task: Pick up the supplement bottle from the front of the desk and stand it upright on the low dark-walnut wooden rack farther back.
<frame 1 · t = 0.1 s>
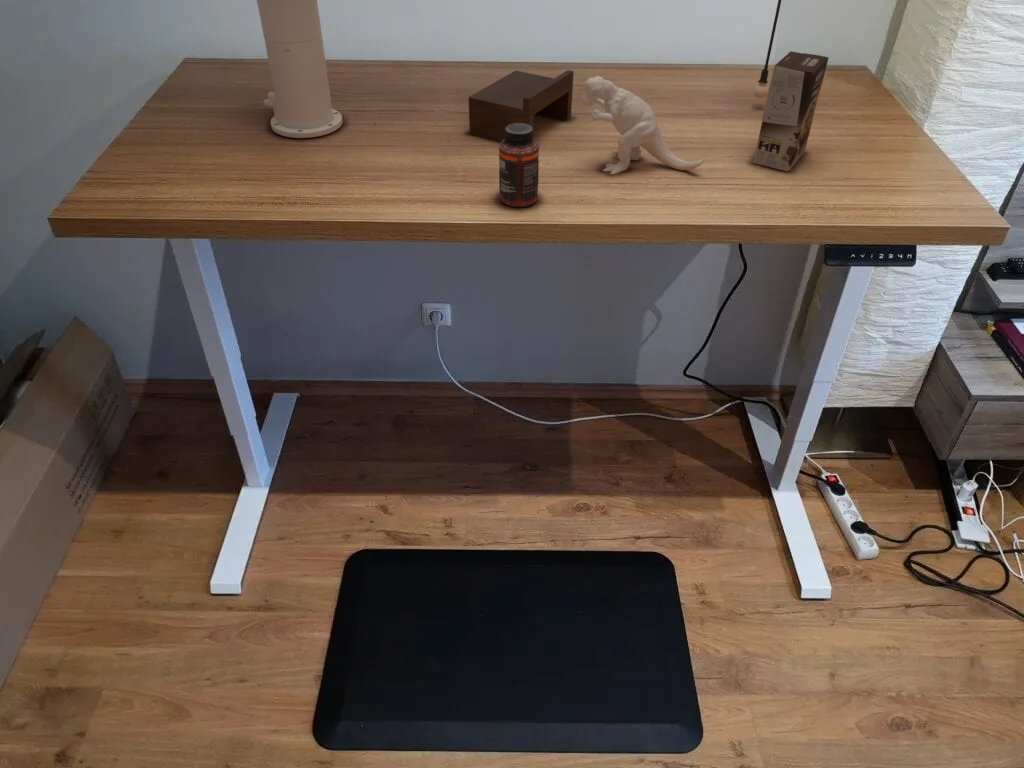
rack: (521, 126, 145), on the table
light fixture: (757, 109, 153), on the table
coffee box: (778, 159, 136), on the table
supplement bottle: (518, 200, 123), on the table
dinosaur figurine: (639, 166, 133), on the table
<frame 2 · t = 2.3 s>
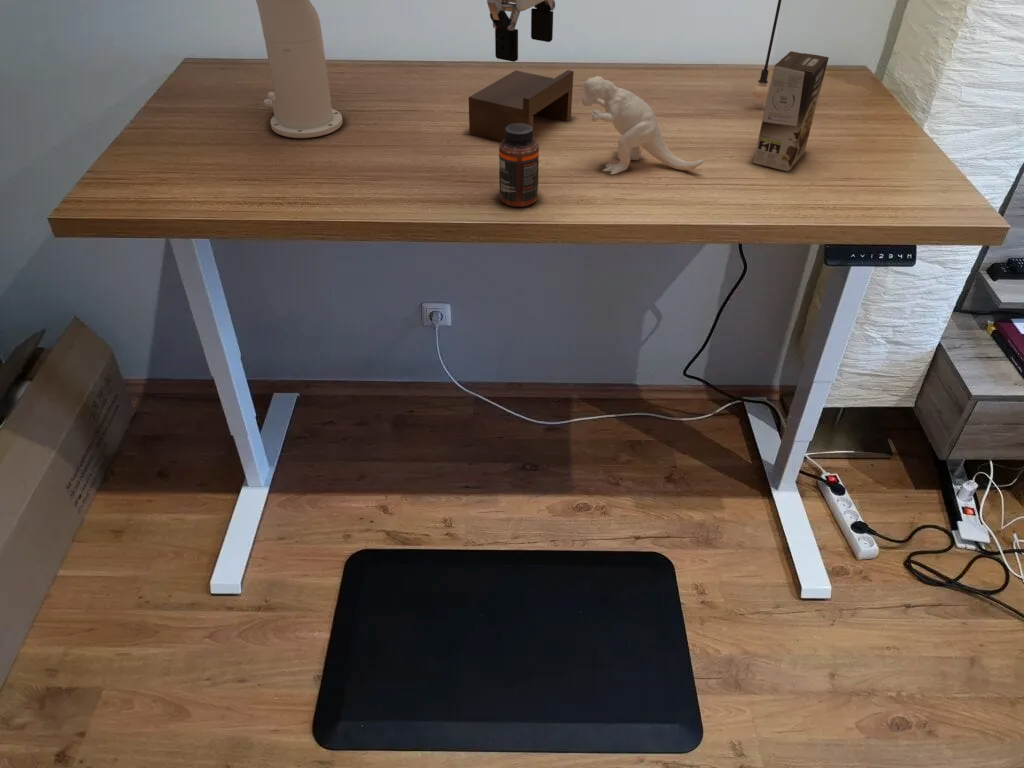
hand: (524, 49, 111), 22 cm above the table, tool pointing down, fingers open, 9 cm apart
nothing on the table moved.
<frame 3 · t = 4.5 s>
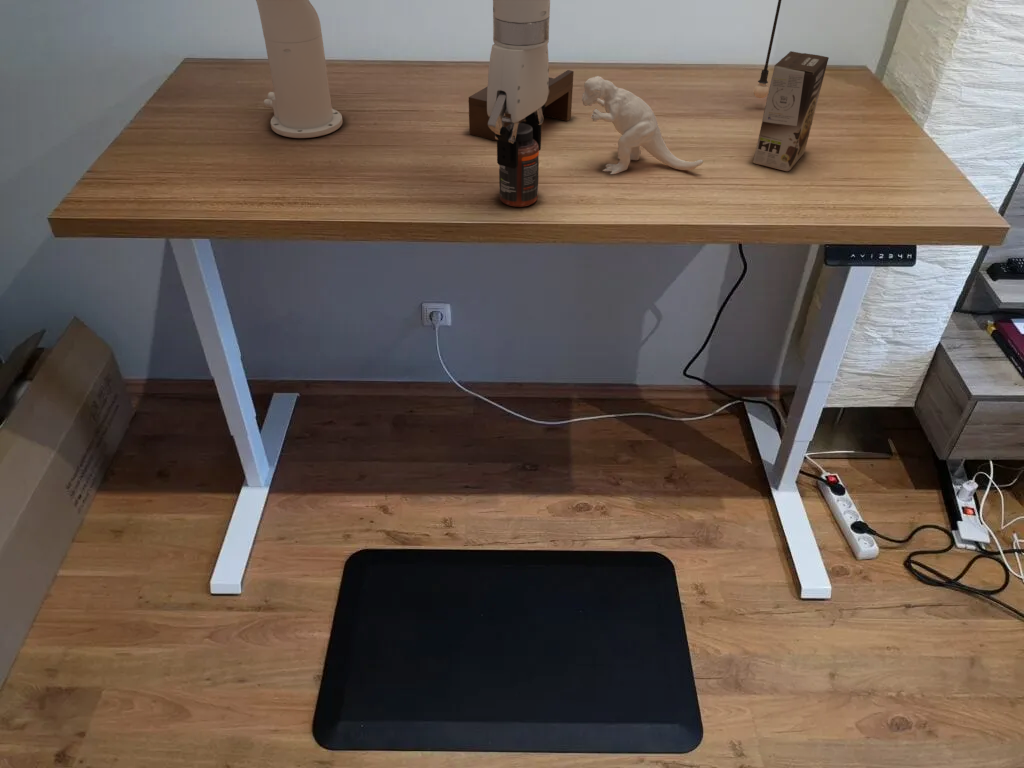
hand: (519, 156, 119), 7 cm above the table, tool pointing down, fingers closed on supplement bottle, 6 cm apart
supplement bottle: (518, 200, 123), on the table, touching gripper
everything else where it was.
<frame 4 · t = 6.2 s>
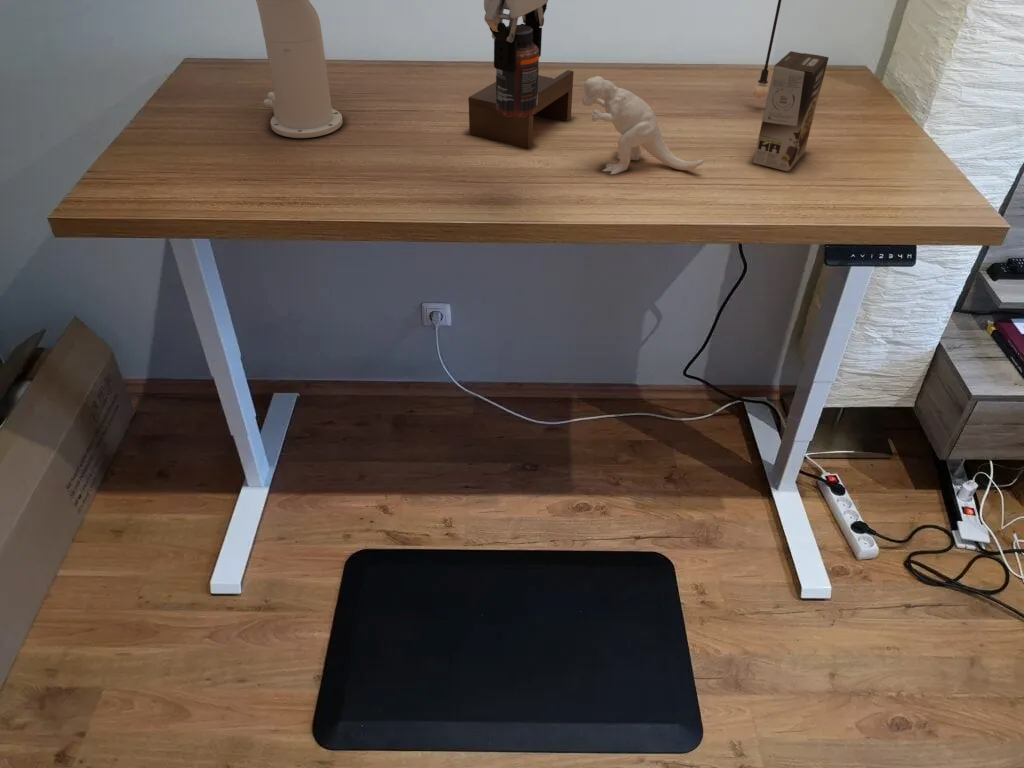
hand: (517, 61, 110), 21 cm above the table, tool pointing down, fingers closed on supplement bottle, 6 cm apart
supplement bottle: (516, 112, 115), point 13 cm above the table, touching gripper
everything else where it was.
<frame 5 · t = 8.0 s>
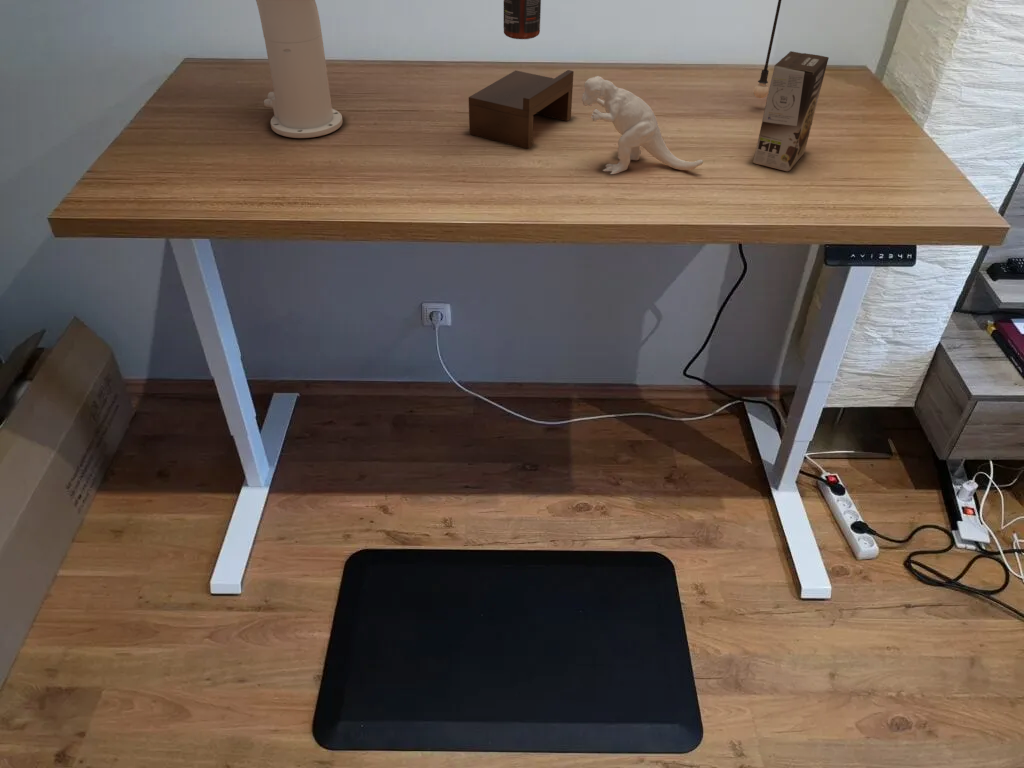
supplement bottle: (521, 36, 130), point 17 cm above the table, touching gripper
everything else where it was.
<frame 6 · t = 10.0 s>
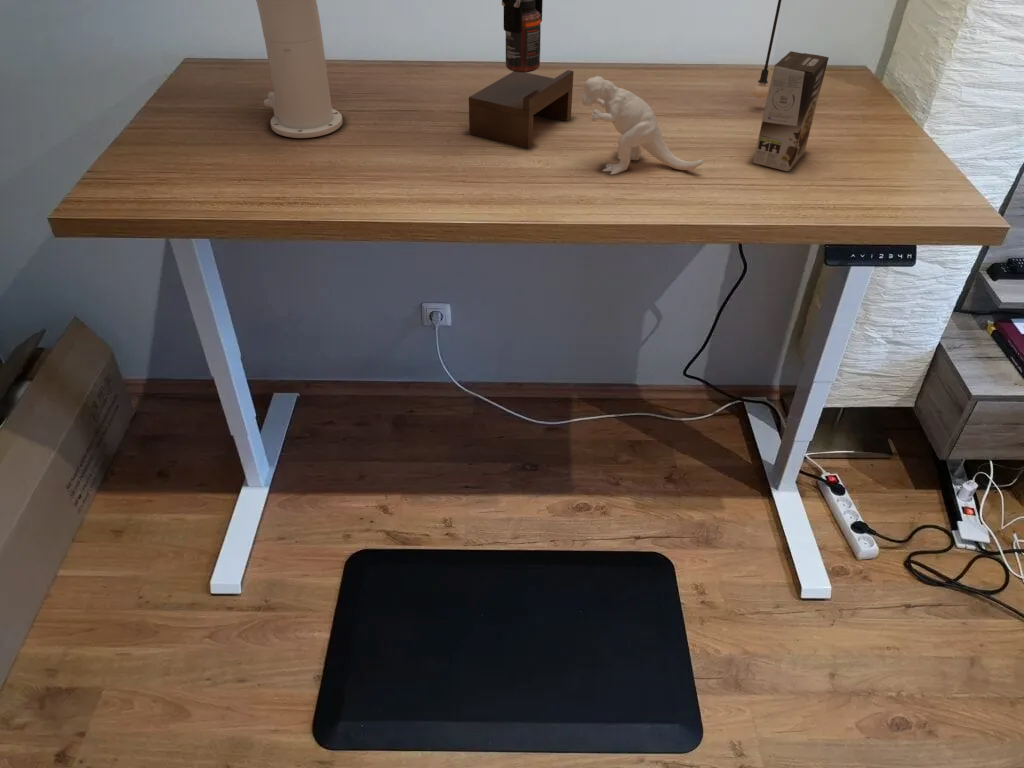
hand: (523, 25, 134), 17 cm above the table, tool pointing down, fingers closed on supplement bottle, 6 cm apart
supplement bottle: (522, 69, 139), point 10 cm above the table, touching gripper
everything else where it was.
when the fingers open (14 cm above the table, at t = 11.5 s): supplement bottle stays where it is, resting on rack.
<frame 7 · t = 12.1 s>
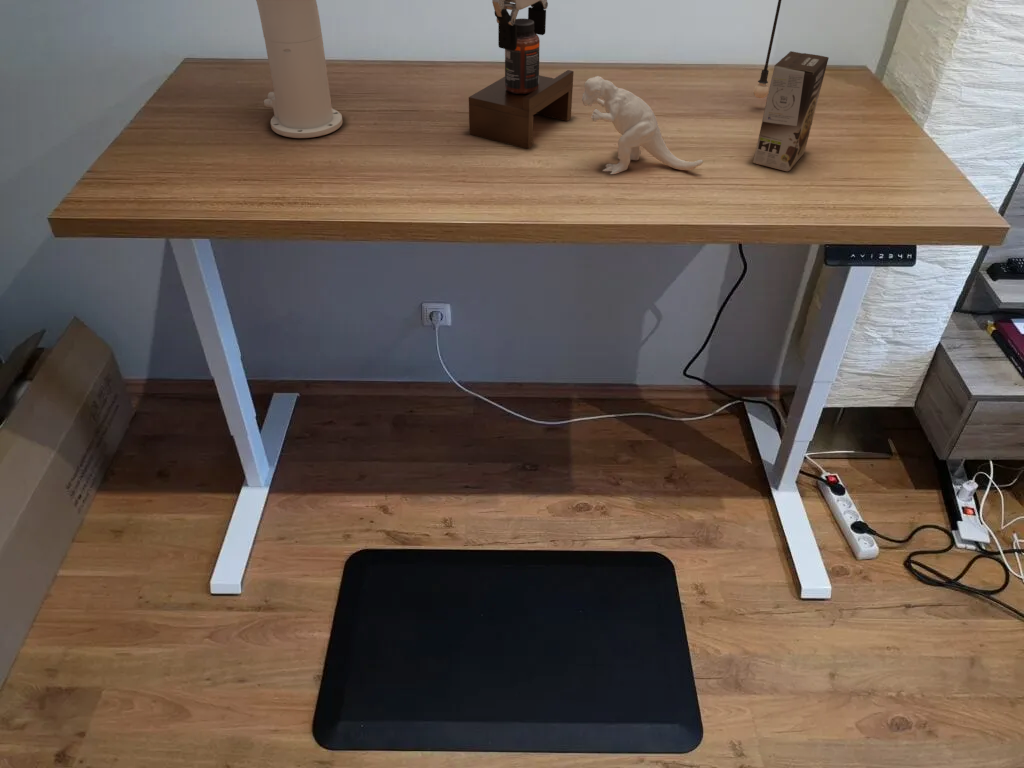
hand: (522, 40, 136), 15 cm above the table, tool pointing down, fingers open, 9 cm apart
supplement bottle: (521, 90, 141), point 6 cm above the table, touching rack
everything else where it was.
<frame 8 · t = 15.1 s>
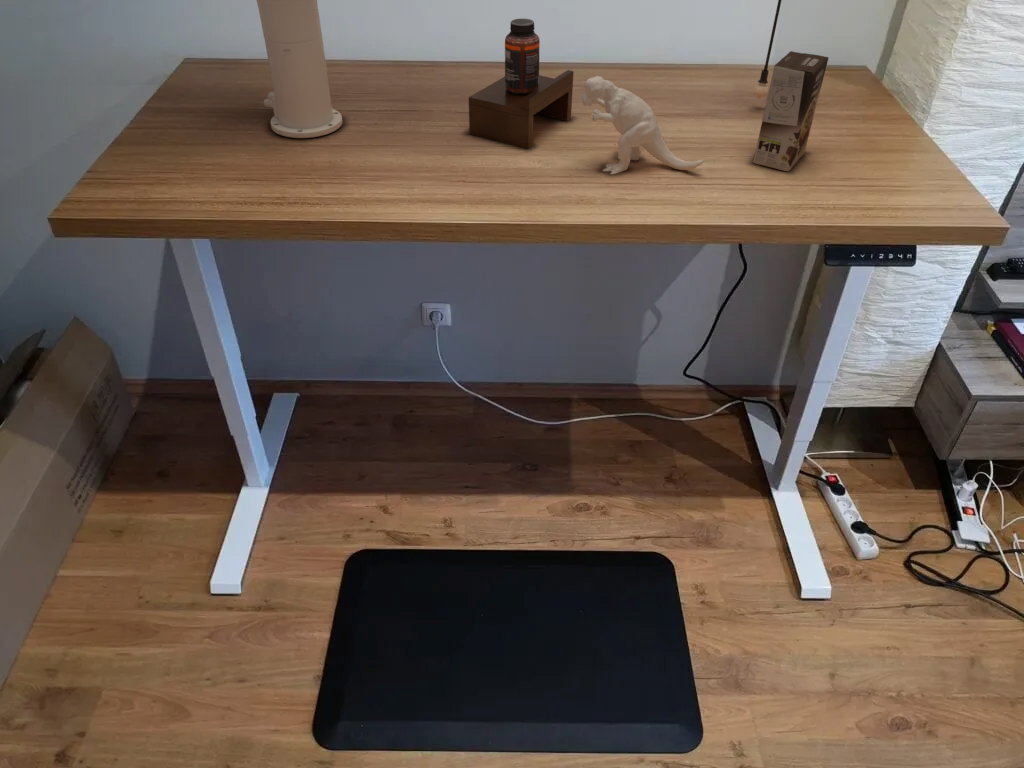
nothing on the table moved.
at the end: supplement bottle inside the target area on the rack (0.0 cm from its centre), point 6.4 cm above the rack's base; supplement bottle tilted 0°; the gripper is holding nothing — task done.
